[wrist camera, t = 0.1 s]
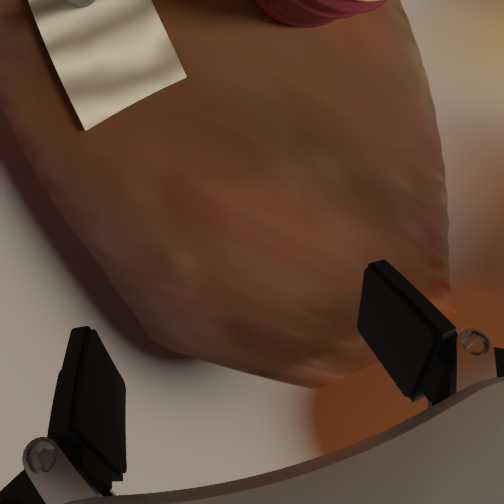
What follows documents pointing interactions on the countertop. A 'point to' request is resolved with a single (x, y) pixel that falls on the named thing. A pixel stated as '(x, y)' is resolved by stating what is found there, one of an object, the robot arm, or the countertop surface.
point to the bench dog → (81, 3)
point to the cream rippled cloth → (107, 53)
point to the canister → (315, 10)
